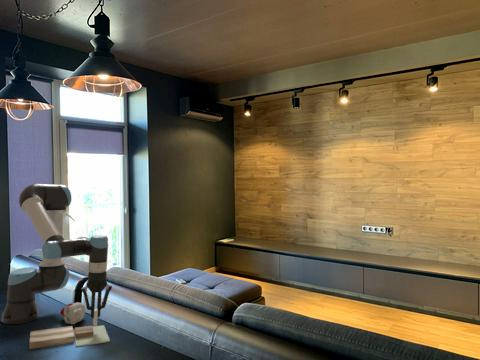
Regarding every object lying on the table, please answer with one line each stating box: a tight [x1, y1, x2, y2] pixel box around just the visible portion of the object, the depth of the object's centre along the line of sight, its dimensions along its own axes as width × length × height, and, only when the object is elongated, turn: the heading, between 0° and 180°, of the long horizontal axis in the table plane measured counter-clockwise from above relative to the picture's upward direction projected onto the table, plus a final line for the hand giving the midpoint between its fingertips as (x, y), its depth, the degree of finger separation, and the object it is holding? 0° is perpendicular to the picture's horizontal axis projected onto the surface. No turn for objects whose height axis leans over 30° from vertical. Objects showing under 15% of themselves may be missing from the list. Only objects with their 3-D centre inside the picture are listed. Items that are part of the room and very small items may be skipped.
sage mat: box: [73, 325, 111, 348], centre depth 156 cm, size 18×13×1 cm
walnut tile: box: [74, 325, 94, 340], centre depth 156 cm, size 7×7×2 cm
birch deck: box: [29, 325, 75, 350], centre depth 150 cm, size 12×16×2 cm
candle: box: [60, 301, 86, 325], centre depth 171 cm, size 9×11×15 cm
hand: (94, 324), depth 158 cm, fingers closed
